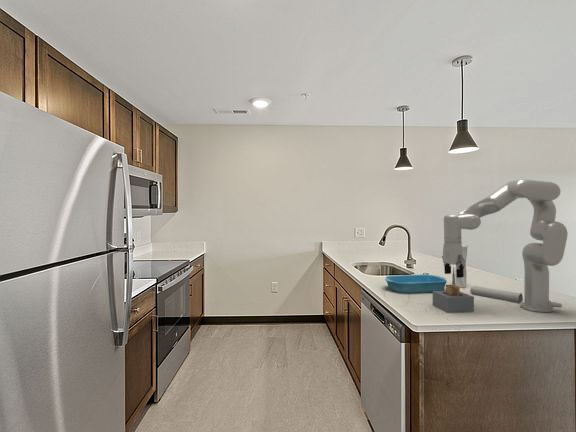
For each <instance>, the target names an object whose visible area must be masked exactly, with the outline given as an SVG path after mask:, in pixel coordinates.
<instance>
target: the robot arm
mask: <svg viewBox="0 0 576 432" xmlns="http://www.w3.org/2000/svg"><path fill="white" fill-rule="evenodd" d="M560 195H561V187H560V186H559V185H558V184H557V183H555V182H552V181H544V180H543V181H542V180H535V179H533V180H532V179H518V180H517V179H516V180H511V181H508V182H507V183H505V184H503V185H502V186H500V187H499V188H498V189H497V190H495V191H493V192H492V193H490V194H489V195H488V196H487V197H484V198H483V199H481V200H479V201H477V202H476V203H473V204H471V205H470V206H468V207H466V208H465V209H464V210H462V211H461V212H459V213H458V214H446V215H444V216H443V237H444V238H443V239H444V240H443V241H444V242H443V247H442V256H441V257H442V262H443V266H444V267H443V268H444V269H443V270H444V274H445V275H450V274H452V265H453V266H454V265H455V270H456V272H457V278H461V277H464V271H463V269H464V267H465V264H466V263H467V259H466V260H465V259H464V258H463V250H462V245H463V244H462V242H463V241H462V240H463V239H462V230H471V231H472V230H476V229H477V228H479V227H480V225H481V224H482V220H481V218H483V217H486V216H488V215H491V214H496V213H499V212H500V211H502V210H503V209H504V208H506V207H507V206H509V205H510V204H511V203H513V202H514V201H516V200H517V199H527V200H528V201H529V202H530V204H531V205H532V208H533V215H532V221H531V225H530V230H529V234H530V236H531V238H533V239H535V240H536V241H537V240H538V241H542V243H539V242H529V243H528V244H525V245H524V247H523V248H522V259H523V265H524V267H523V268H524V286H523V287H524V290H523V291H524V295H523V296H524V297H523V299H524V301H523V302H522V303H520V308H521V309H524V310H527V311H531V312H538V313H539V312H540V313H552V312H554V308H562V307H563V304H562V303H561V302H560V303H559V302H555V301H551V300H550V270H549V266H550V267H555V266H557V265H559V264H560V263H561V261H562V260H563V258H564V255H565V250H566V246H567V240H568V229H567V227H566V225H564V224H563V223H562V222H559V221H557V220H556V215H557V209H556V205H555V203H554V201H555V200H557V199H558V198H559V196H560ZM459 265H460V266H459ZM456 267H457V269H456Z"/></svg>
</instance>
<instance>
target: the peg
mask: <svg viewBox="0 0 576 432" xmlns="http://www.w3.org/2000/svg"><path fill="white" fill-rule="evenodd" d="M460 289H461V288H460V287H459V286H457V285H452V284H446V285H445V291H446V294H447V295H449V296H460V292H461V291H460Z"/></svg>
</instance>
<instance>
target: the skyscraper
mask: <svg viewBox="0 0 576 432" xmlns="http://www.w3.org/2000/svg"><path fill="white" fill-rule="evenodd" d="M461 244H462V250H463V258H464V259H465V260H466V261H467V258H468V257H467V256H468V245H466V244H464V243H463V241H462V243H461ZM459 266H460V265H459ZM456 269H457V267H456V266H455V267H454V266H453V268H452V273H451V274H452V278H451V280H452V282H451V283H452V284H451V285H457V286H459V287H460V289H465V288H466V287H467V265H466V263H465V267H464V269H463V271H464V277H461V278H457V272H456Z"/></svg>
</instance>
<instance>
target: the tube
mask: <svg viewBox="0 0 576 432" xmlns="http://www.w3.org/2000/svg"><path fill="white" fill-rule="evenodd" d="M469 292H470V293H471V295H474V296H480V297H485V298H490V299H495V300H500V299H501V301H505V300H506V302H511V303H516V302H517V304H521V303H520V302H522V303H523V302H524V301H523V299H524V297H523V296H524V295H523V293H522V292H520V293H519V292H514V291H507V290H503V289H495V288H489V287H484V286H483V287H482V286H477V285H474V286H470V289H469Z"/></svg>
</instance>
